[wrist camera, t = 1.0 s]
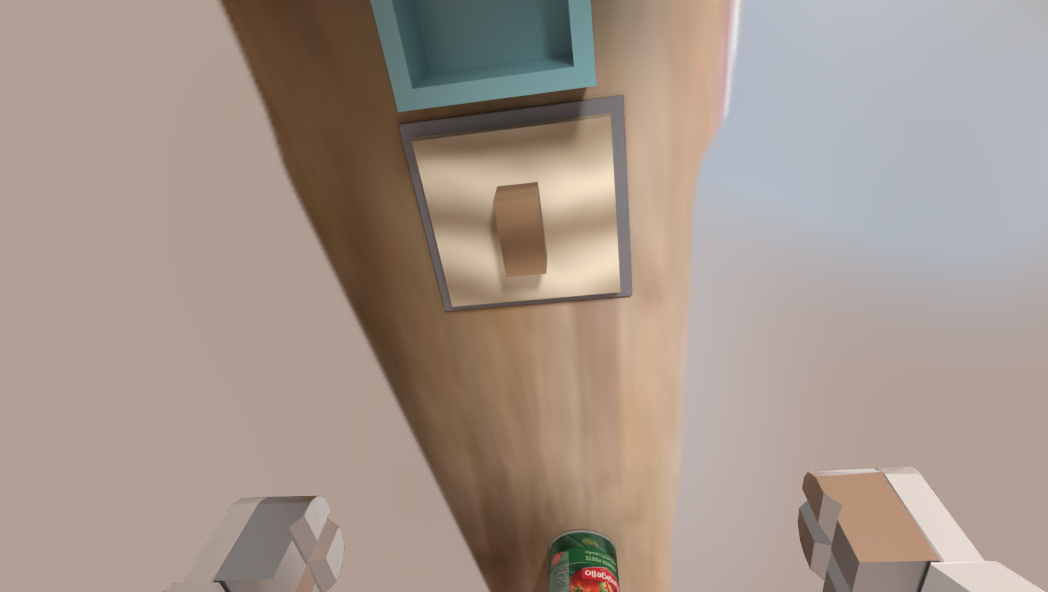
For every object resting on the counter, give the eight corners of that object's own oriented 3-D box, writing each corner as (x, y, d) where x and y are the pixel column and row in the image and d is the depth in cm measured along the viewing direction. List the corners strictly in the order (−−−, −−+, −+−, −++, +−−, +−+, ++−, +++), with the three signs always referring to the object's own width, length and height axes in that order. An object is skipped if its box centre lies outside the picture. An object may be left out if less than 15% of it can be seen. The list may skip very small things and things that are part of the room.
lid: (414, 137, 40) (401, 154, 36) (609, 113, 38) (614, 128, 35) (454, 300, 47) (445, 327, 44) (619, 285, 45) (624, 312, 42)
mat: (399, 124, 40) (398, 125, 39) (623, 94, 38) (623, 96, 38) (446, 308, 48) (445, 311, 48) (631, 292, 46) (632, 295, 46)
